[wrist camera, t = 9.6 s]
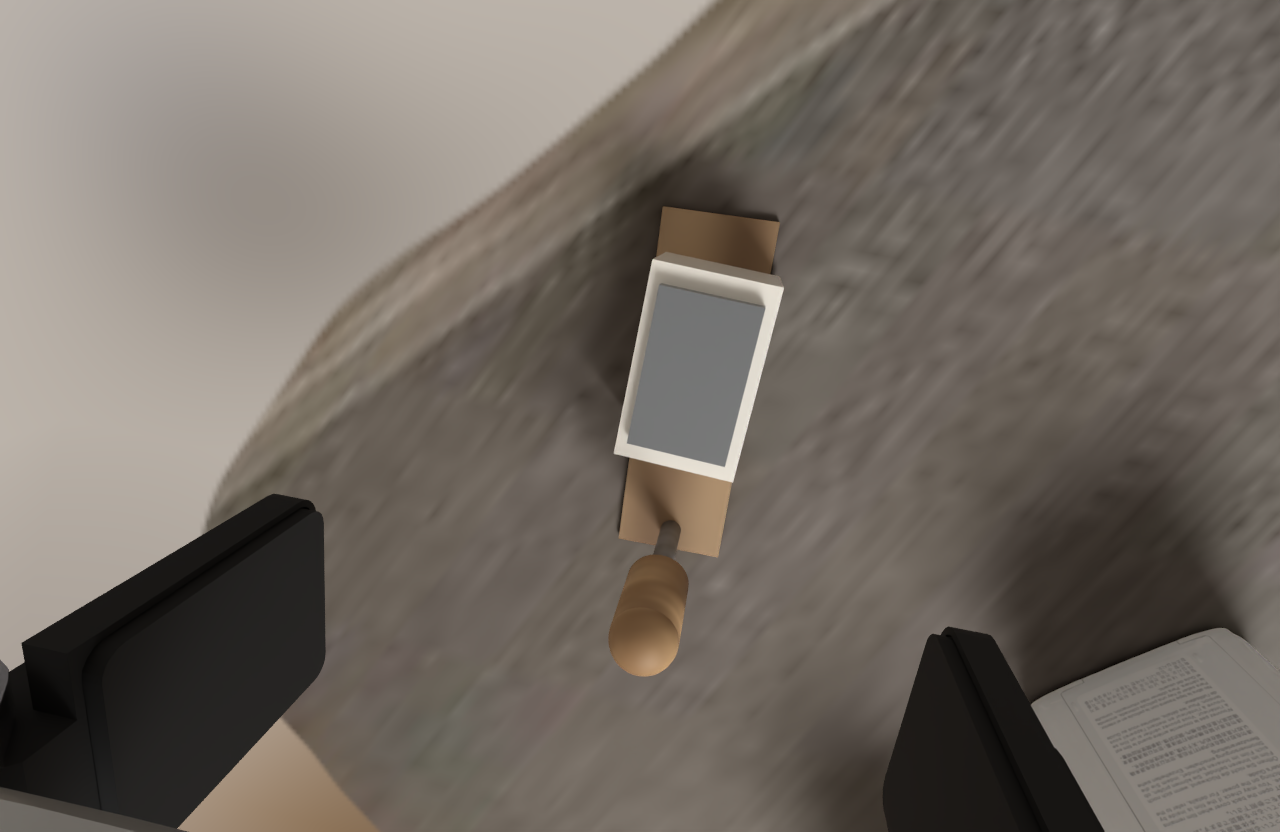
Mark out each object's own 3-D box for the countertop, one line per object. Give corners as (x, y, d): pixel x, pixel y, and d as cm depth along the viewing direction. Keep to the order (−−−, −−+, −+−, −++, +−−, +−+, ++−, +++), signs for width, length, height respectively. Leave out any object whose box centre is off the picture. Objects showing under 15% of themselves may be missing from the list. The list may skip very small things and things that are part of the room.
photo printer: (1050, 763, 35) (1203, 1046, 23) (1008, 701, 34) (1143, 959, 22) (1268, 678, 32) (1569, 954, 20) (1225, 608, 31) (1512, 851, 19)
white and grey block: (779, 276, 30) (784, 289, 25) (735, 446, 32) (732, 488, 27) (666, 251, 30) (650, 260, 25) (631, 421, 33) (610, 458, 28)
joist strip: (779, 222, 29) (779, 222, 29) (718, 554, 34) (718, 557, 34) (663, 206, 30) (662, 206, 29) (619, 535, 35) (618, 538, 34)
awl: (701, 510, 33) (680, 636, 24) (692, 558, 34) (669, 698, 24) (648, 501, 34) (606, 621, 24) (641, 548, 34) (598, 683, 25)
